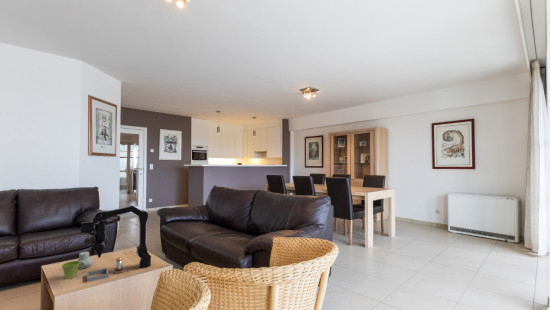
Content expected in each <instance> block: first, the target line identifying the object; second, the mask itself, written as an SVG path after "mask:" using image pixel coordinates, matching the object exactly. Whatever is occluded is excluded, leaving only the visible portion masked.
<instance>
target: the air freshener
mask: <svg viewBox="0 0 550 310" xmlns="http://www.w3.org/2000/svg"><path fill="white" fill-rule="evenodd" d="M76 261H80V263H79V266H78V270H79V269H80V270H83V269H84V270H85V269H87V268H89V267H91V266H92V265H93V264H94V260H93V258H92V257H90V251H83V252H79V254H78V259H77V260H76Z"/></svg>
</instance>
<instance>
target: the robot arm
mask: <svg viewBox="0 0 550 310" xmlns="http://www.w3.org/2000/svg"><path fill="white" fill-rule="evenodd" d="M128 213H132V214H135V215H136V216H137V219H138V225H139V226H138V227H139V230H138V231H139V233H138V234H139V241H138V242H139V243H138V246H135V248H136V251H135V254H137V256H138V258H140V259H139V263H138V266H139V269H146V268H149V267H151V266H152V261H151V260H152V255H151V254H150V253H149V252H148V247H147V243H146V241H147V240H146V239H147V237H146V236H147V222H148V217H149V213H148V212H147V211H146V210H144V209H140V208H138V207H135V205H133V204H131V205H130V206H129V205H128V206H125V207H119V208H115V209H110V210H98V211H96V212H95V213H94V216H93V218H92V219H91V221H84V222H81V223H80V234H81V235H82V234H89V233H92V232H93V231H94V234H93V235H91V236H89V237H86V238H84V240H83V242H84V243H83V244H85V245H86V246H88V245H89V244H91V243H93V244H91V250H94V251H96V252H95V253H96V256H97V258H101V257H102V254H103V253H104V251H105V247H106V246H107V243H108V240H109V237H108V236H107V235H106V233H107V231H106V224H109V223H110V222H109V220H107V219H109V218H112V217H116V216H119V215H123V214H128Z"/></svg>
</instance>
